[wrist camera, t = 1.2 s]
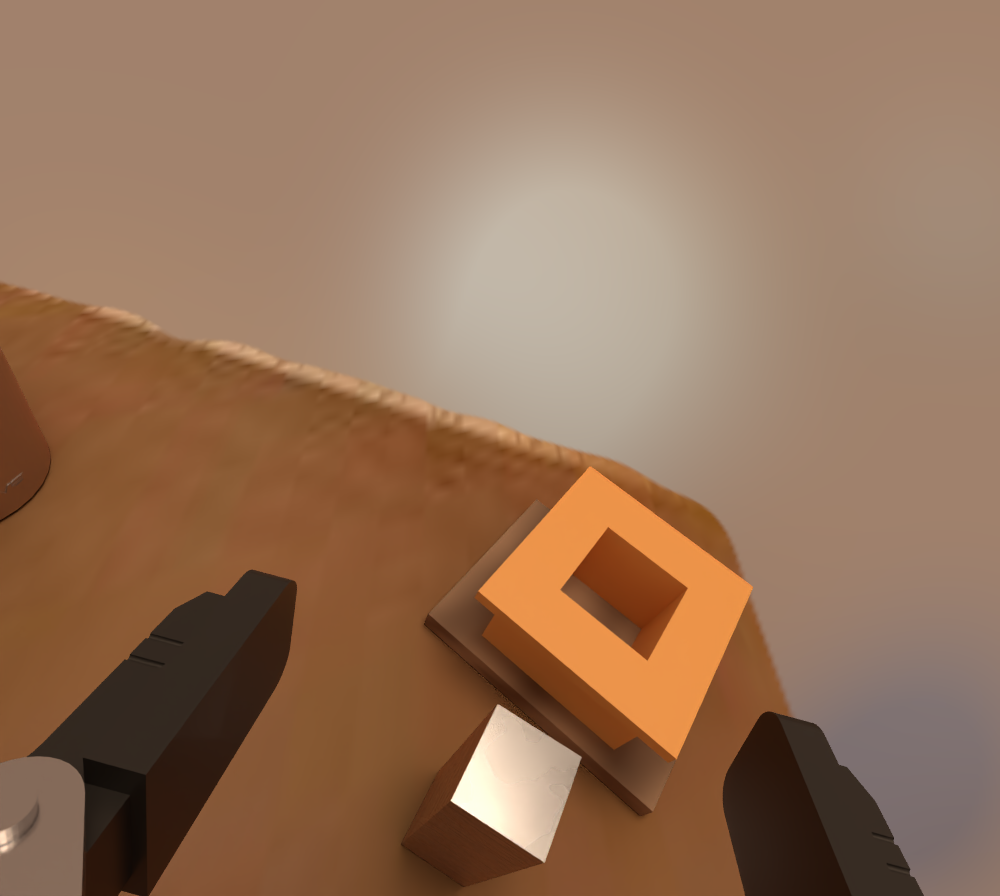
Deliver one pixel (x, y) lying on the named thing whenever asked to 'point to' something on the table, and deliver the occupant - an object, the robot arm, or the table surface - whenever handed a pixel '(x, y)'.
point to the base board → (461, 628)
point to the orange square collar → (633, 592)
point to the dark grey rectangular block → (494, 802)
